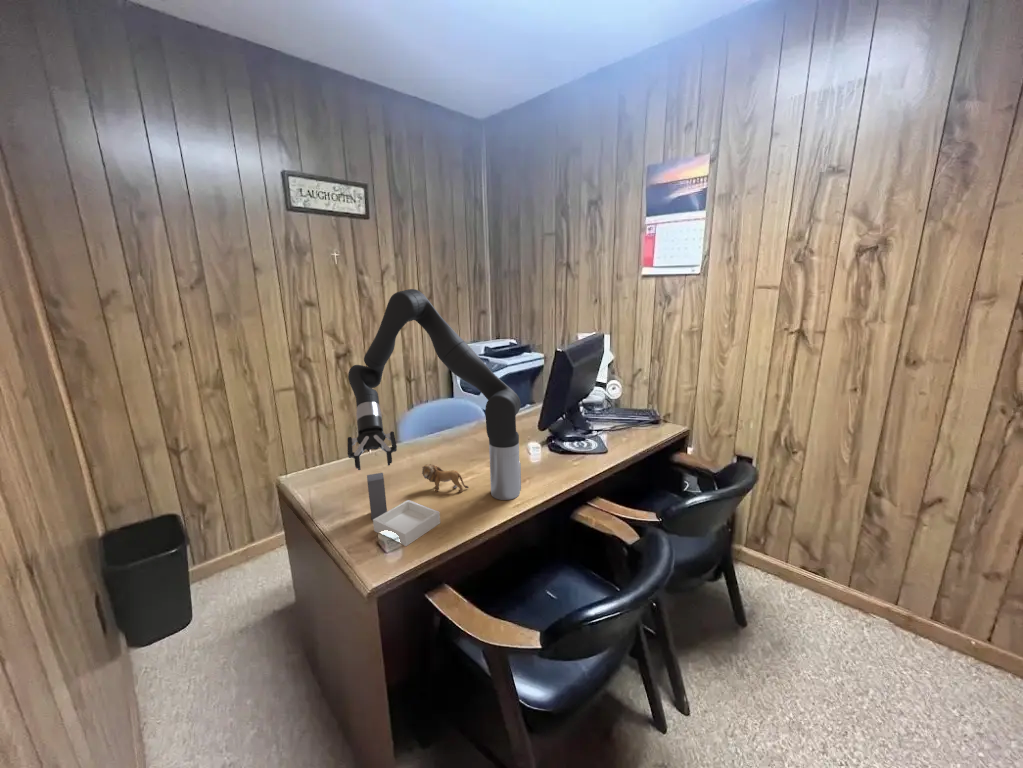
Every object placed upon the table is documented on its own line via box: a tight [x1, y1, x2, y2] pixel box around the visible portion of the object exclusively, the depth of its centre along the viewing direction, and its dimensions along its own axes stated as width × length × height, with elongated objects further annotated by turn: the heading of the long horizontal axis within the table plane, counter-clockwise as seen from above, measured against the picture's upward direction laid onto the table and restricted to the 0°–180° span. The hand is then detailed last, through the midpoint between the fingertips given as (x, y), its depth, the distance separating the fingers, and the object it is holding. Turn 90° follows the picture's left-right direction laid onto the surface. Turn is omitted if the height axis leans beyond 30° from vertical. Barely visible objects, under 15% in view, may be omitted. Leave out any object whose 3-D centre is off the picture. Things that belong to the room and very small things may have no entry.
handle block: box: [366, 472, 388, 521], centre depth 121 cm, size 4×4×12 cm
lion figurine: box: [421, 463, 469, 494], centre depth 136 cm, size 15×5×9 cm, turn 91°
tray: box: [372, 499, 441, 547], centre depth 116 cm, size 13×13×4 cm
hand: (374, 466), depth 126 cm, fingers open, 8 cm apart
